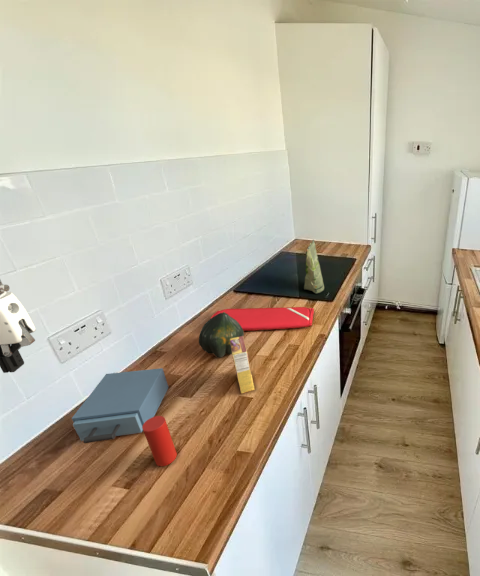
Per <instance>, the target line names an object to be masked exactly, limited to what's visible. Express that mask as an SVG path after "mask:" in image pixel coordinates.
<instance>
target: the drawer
mask: <svg viewBox="0 0 480 576" xmlns="http://www.w3.org/2000/svg"><path fill="white" fill-rule="evenodd" d="M72 426H73V428H74V430H75V432H76V434H77V437H78V438H79V440H80V441H81V442H83V444H90V443H97V442H98V443H99V442H105V441H112V440H115V438H116V437H120V436H126V435H133V434H141V433H142V432H143V429H142V424H141V422H140V419H139V416H138V414H137V413H129V414H121V415H113V416H105V417H97V418H89V419H84V420H78V421H75V422H74V423H72Z"/></svg>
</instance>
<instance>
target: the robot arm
mask: <svg viewBox="0 0 480 576" xmlns="http://www.w3.org/2000/svg"><path fill="white" fill-rule="evenodd" d="M17 297H18V296H16V295H15V294H14V293H13V292H12V291H10V286H9V284H4V283H3V282H2V280H1V279H0V369H1V371H2V373H3V374H8V373H15V372H16V371H18V370H19V369H20V368H21V367H22V366H23V365H25V361H24V359H23V357H22V354H21V352H20V351H19V350H20V349H21V348H23V347H27V346H30V345H32V344H34V343H35V342H36V339H35V338H34V337H33V335H32V334H33V333H34V332H36V331H37V329H36V326H35V324H34V322H33V320H32V317H31V316H30V315H29V314H30V313H28V311H27V309H26V308H25V306H24V305H23V304H22V302H21V300H19V299H18V298H17Z"/></svg>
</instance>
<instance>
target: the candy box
mask: <svg viewBox="0 0 480 576" xmlns="http://www.w3.org/2000/svg"><path fill="white" fill-rule="evenodd" d="M230 345H231V351H232V354H231V355H232V360H233V366H234V370H235V373H236V378H237V382H238V386H239V387H238V388H239V389H240V390H239V391H240V394H241V395H242V394H245V393H248V392H251V391H255V385H254V379H253V375H252V370H251V365H250V359H249V354H248V349H247V346H246V343H245V339H243V336H240V337H236V338H232V339H230Z"/></svg>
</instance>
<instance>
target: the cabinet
mask: <svg viewBox="0 0 480 576" xmlns="http://www.w3.org/2000/svg"><path fill="white" fill-rule="evenodd" d="M169 388H170V387H169V384H168V381H167V378H166V375H165V371H164V369H163V368H162V367H161V368H149V369H140V370H131V371H122V372H111V373H110V372H109V373H105V375H104V376H103V377H102V378H101V380H100V381H99V382H98V384H97V385H96V386H95V388H93V390H92V392H90V394H89V395H88V396H87V397H86V399H85V401H83V403H82V404H81V405H80V407H79V408H78V409H77V410H76V412H75V413H74V415H73V416H72V417H71V420H72V422H73V423H74V422H75V421H78V420H84V419H89V418H97V417H105V416H113V415H121V414H129V413H137V414H138V416H139V419H140V422H141V424H142V426H143V424H144V423H145V422H146V421H147V420H148V419H150V418H152V417H155V416H156V414H157V412H158V410H159V408H160V405H162V401H163V400H164V398H165V396H166V393H167V392H168V389H169ZM73 423H72V424H73Z"/></svg>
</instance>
